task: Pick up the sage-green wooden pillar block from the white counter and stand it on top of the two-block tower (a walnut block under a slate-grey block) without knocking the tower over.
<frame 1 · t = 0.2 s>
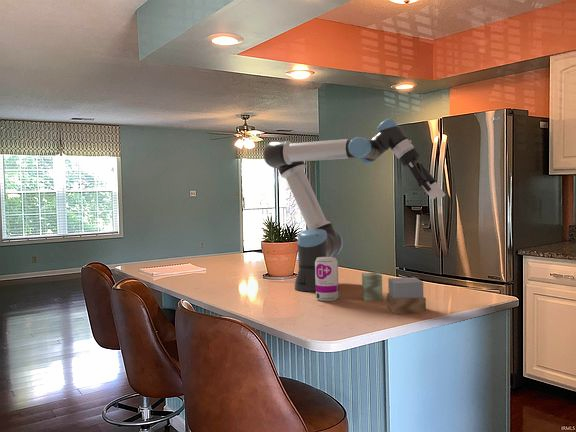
hand: (439, 197, 198), 35 cm above the countertop, tool tilted 35°, fingers open, 13 cm apart
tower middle: (405, 295, 167), point 5 cm above the countertop, touching tower base
supplement can: (327, 299, 187), on the countertop
tower base: (405, 311, 167), on the countertop, touching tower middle
pillar block: (372, 299, 186), on the countertop
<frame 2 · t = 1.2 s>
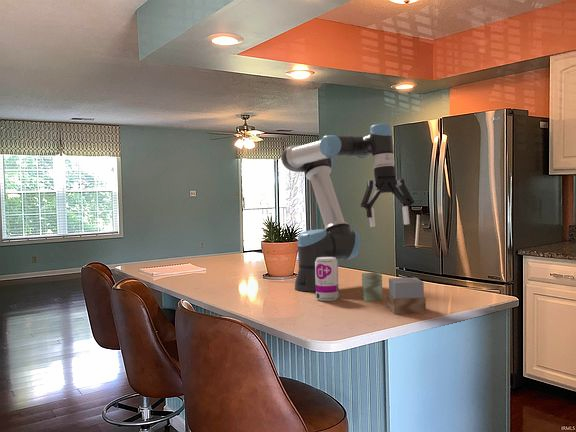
hand: (389, 225, 186), 26 cm above the countertop, tool pointing down, fingers open, 13 cm apart
nothing on the countertop moved.
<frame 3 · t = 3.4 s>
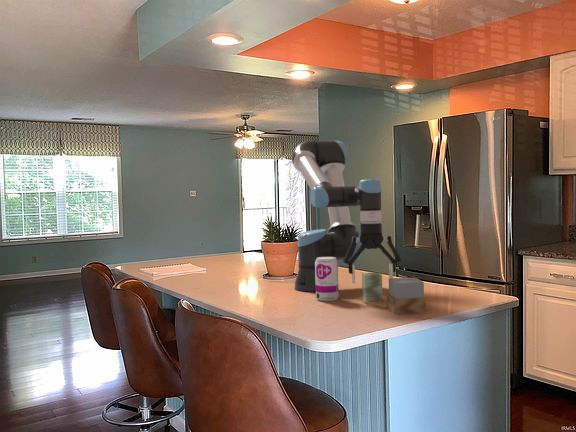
hand: (372, 282, 185), 6 cm above the countertop, tool pointing down, fingers open, 13 cm apart
nothing on the countertop moved.
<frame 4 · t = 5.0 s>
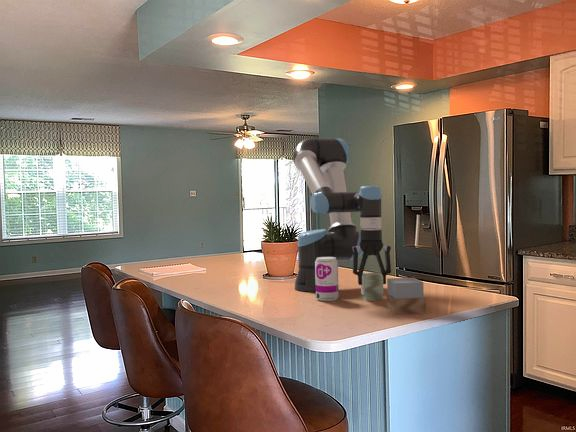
hand: (372, 293, 186), 2 cm above the countertop, tool pointing down, fingers closed on pillar block, 6 cm apart
pillar block: (372, 298, 186), on the countertop, touching gripper
everything else where it was.
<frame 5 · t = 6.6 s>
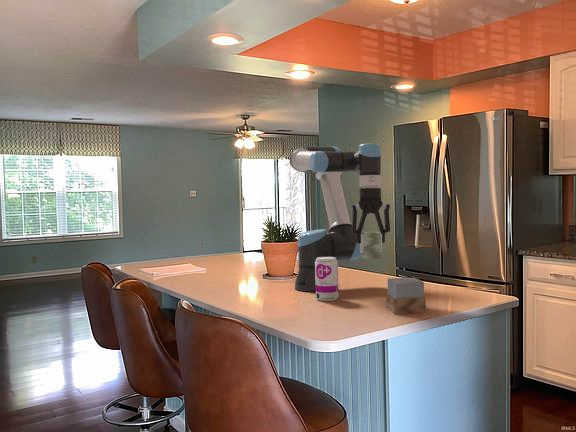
hand: (371, 252, 186), 17 cm above the countertop, tool pointing down, fingers closed on pillar block, 6 cm apart
pillar block: (371, 257, 186), point 15 cm above the countertop, touching gripper
everything else where it was.
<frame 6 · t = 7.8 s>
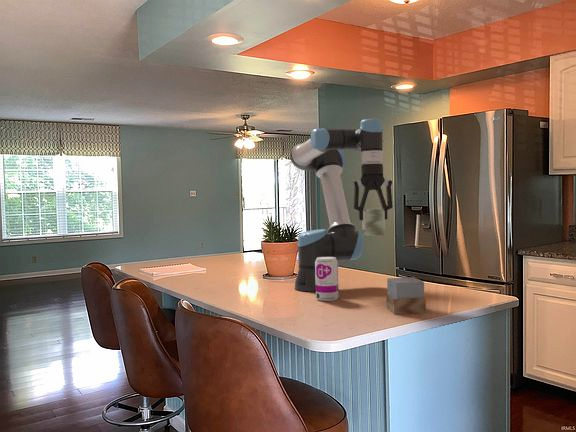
hand: (373, 229, 183), 25 cm above the countertop, tool pointing down, fingers closed on pillar block, 6 cm apart
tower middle: (405, 295, 167), point 5 cm above the countertop
tower base: (405, 311, 167), on the countertop
pillar block: (373, 234, 183), point 23 cm above the countertop, touching gripper
everything else where it was.
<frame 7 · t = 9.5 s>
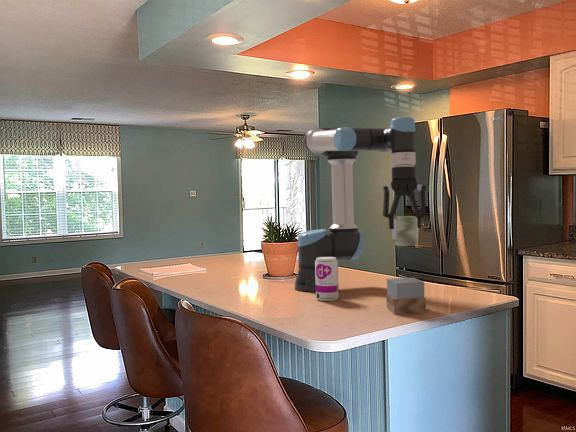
hand: (404, 238, 166), 23 cm above the countertop, tool pointing down, fingers closed on pillar block, 6 cm apart
pillar block: (405, 244, 166), point 21 cm above the countertop, touching gripper
everything else where it was.
when the fingers open (13 cm above the countertop, at t = 12.7 s): pillar block moves 1 cm, point 10 cm above the countertop.
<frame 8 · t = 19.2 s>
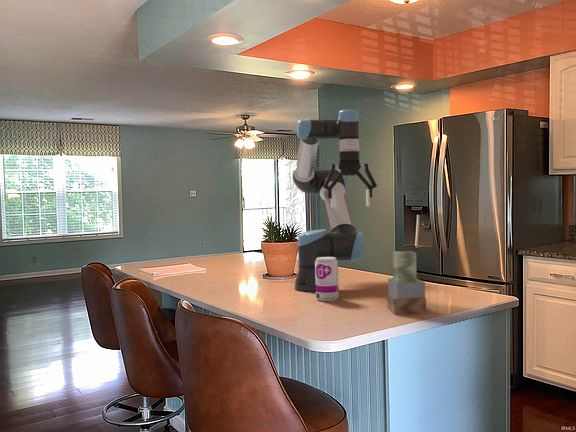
hand: (350, 207, 198), 33 cm above the countertop, tool pointing down, fingers open, 13 cm apart
pillar block: (404, 280, 166), point 10 cm above the countertop
everything else where it was.
at the end: pillar block 0.4 cm off-centre on the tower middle, point 5.0 cm above the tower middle's base; pillar block tilted 0°; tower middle 0.1 cm off-centre on the tower base, point 5.0 cm above the tower base's base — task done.
